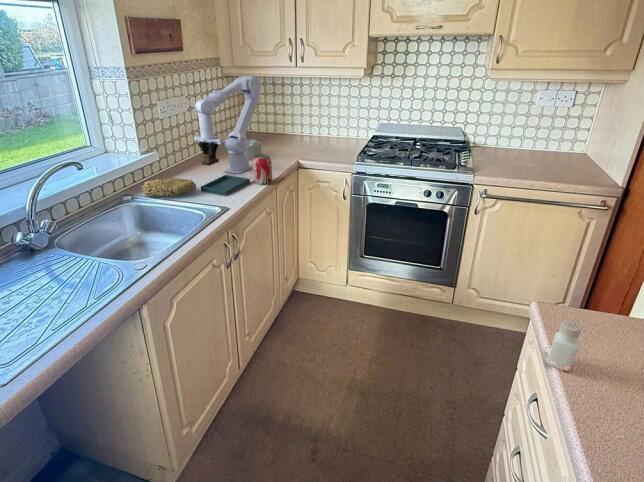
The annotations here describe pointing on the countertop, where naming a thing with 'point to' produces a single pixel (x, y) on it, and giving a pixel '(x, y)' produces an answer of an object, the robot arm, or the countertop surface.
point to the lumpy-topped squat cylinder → (253, 148)
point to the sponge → (168, 187)
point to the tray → (225, 185)
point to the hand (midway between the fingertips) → (210, 158)
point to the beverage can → (262, 169)
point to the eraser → (209, 160)
